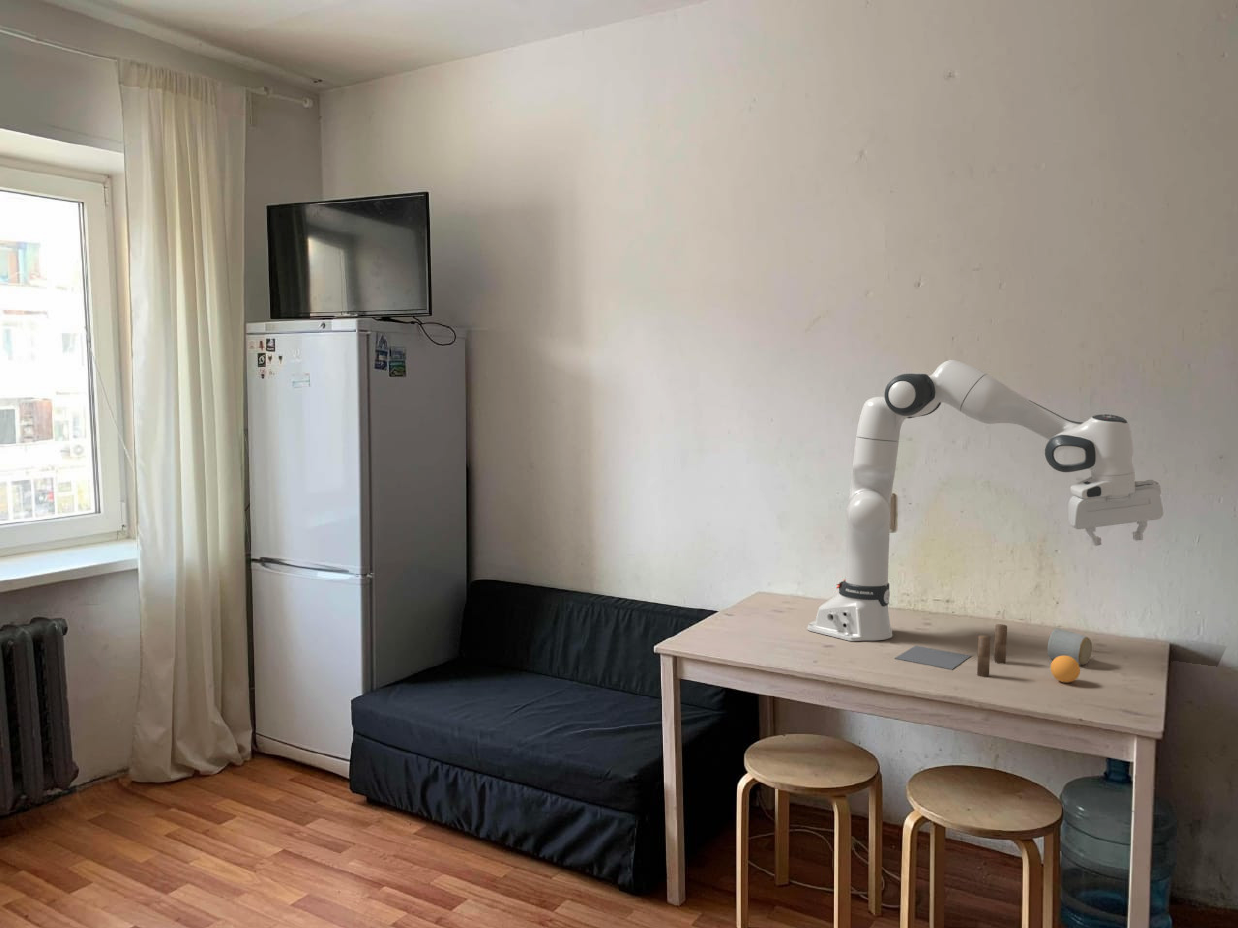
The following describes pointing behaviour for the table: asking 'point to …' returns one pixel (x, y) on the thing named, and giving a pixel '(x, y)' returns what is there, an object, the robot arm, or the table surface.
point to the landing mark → (933, 657)
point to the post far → (1000, 643)
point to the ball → (1065, 669)
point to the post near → (983, 656)
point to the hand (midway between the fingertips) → (1117, 542)
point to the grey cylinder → (1069, 646)
